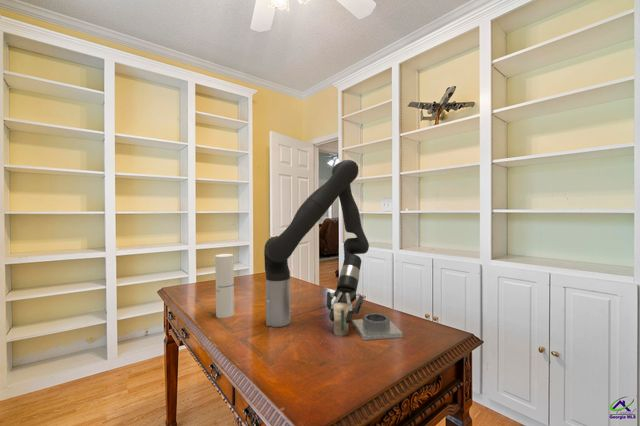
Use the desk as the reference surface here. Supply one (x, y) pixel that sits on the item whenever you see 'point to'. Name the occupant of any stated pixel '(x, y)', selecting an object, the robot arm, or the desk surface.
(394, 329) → the socket plate
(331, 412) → the desk surface
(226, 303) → the cylindrical container
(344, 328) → the cream rounded cylinder
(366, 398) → the desk surface
